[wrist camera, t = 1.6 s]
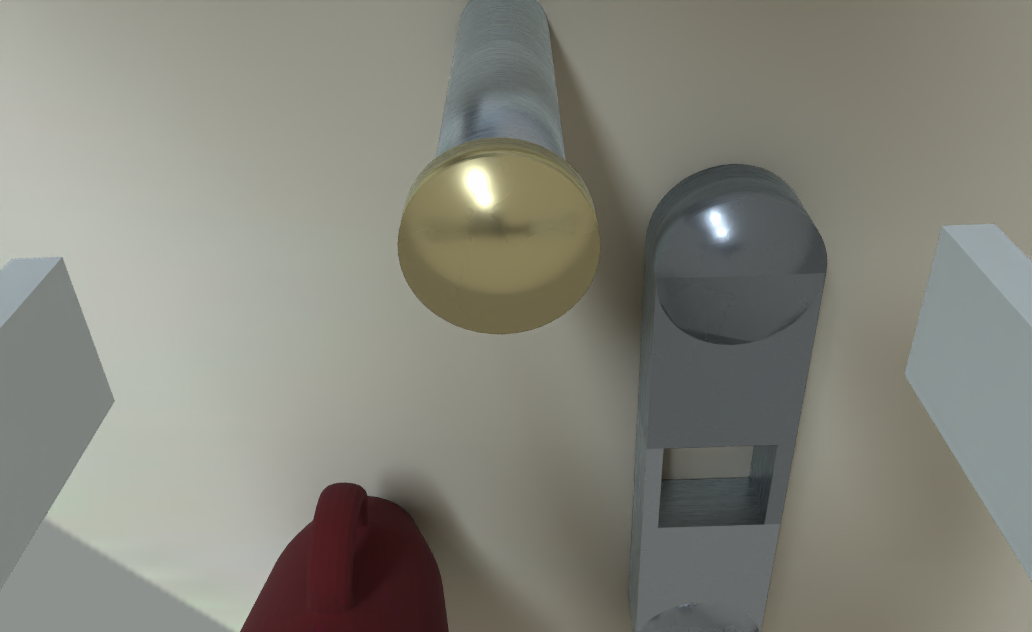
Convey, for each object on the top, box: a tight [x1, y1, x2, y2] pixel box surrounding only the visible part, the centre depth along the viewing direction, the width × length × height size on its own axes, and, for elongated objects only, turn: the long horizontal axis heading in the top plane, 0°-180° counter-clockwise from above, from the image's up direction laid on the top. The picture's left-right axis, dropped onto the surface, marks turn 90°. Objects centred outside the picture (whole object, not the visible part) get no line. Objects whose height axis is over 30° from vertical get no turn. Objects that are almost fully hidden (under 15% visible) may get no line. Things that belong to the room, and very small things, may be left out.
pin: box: [398, 0, 600, 334], centre depth 20 cm, size 3×3×13 cm
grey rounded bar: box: [629, 164, 827, 632], centre depth 33 cm, size 23×5×2 cm, turn 2°
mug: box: [240, 483, 449, 632], centre depth 32 cm, size 11×8×10 cm
